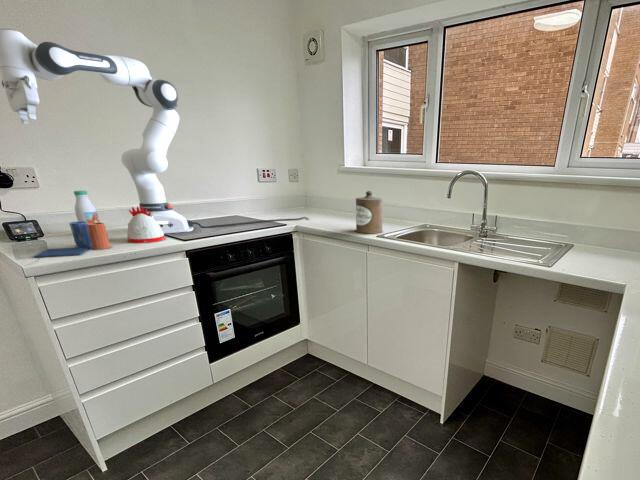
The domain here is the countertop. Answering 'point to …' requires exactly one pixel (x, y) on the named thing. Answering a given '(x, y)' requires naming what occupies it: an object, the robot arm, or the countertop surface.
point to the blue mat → (62, 252)
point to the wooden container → (369, 214)
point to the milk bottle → (85, 208)
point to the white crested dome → (143, 228)
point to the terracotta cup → (98, 235)
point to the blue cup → (80, 234)
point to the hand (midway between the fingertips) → (28, 121)
